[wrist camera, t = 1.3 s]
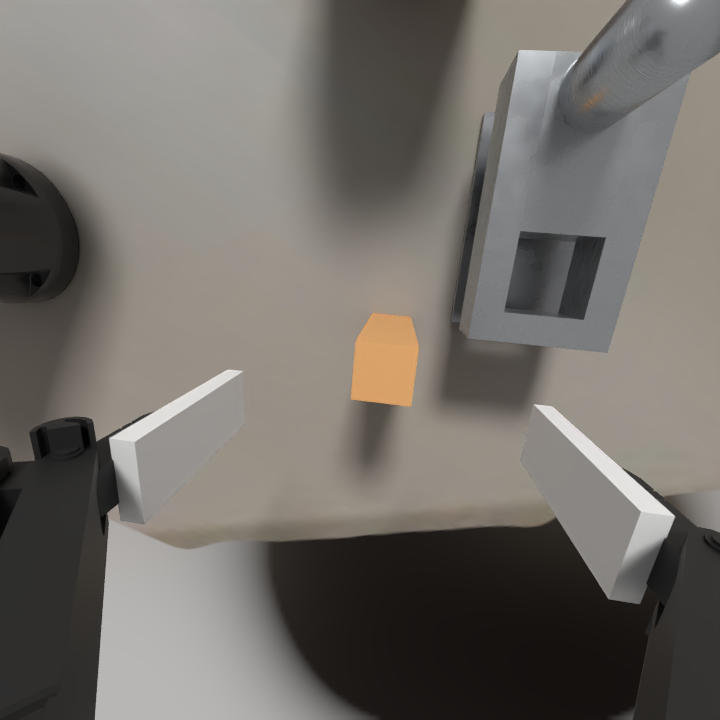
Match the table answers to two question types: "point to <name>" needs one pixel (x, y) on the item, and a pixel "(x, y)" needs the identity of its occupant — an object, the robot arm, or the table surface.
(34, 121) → the table surface
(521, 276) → the grey slotted stand
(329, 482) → the table surface
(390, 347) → the orange square bar
